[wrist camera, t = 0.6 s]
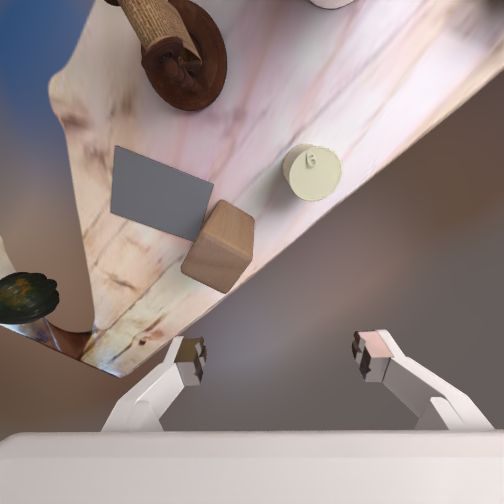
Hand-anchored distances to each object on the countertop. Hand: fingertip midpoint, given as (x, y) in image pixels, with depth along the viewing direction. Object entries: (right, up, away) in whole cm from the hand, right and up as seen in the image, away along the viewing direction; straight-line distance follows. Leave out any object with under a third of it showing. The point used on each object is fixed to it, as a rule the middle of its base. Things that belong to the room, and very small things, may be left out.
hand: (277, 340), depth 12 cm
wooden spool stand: (-13, +40, +28) cm, 50 cm away
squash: (-66, -5, +55) cm, 86 cm away
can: (+10, +24, +36) cm, 44 cm away
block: (-7, +12, +43) cm, 45 cm away
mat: (-23, +18, +40) cm, 50 cm away
